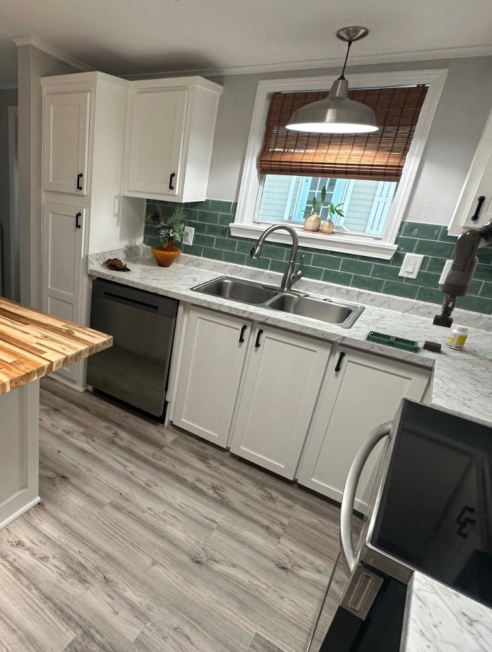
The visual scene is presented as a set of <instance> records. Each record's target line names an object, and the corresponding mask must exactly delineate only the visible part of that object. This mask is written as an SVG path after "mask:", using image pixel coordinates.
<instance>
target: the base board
mask: <svg viewBox="0 0 492 652" xmlns="http://www.w3.org/2000/svg"><path fill="white" fill-rule="evenodd" d="M372 333H373V334H372ZM365 341H366V342H371V343H375V344H379V345H383V346H386V347H391V348H395V349H398V350H402V351H406V352H409V353H410V352H411V353H415V354H416V353H417V350H418V347H419V341H416V340H413V339H409V338H404V337H400V336H395V335H392V334H391V335H390V334H387V333H382V332H378V331H374V330H369V332H368V333H367V336H366V339H365Z"/></svg>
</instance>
